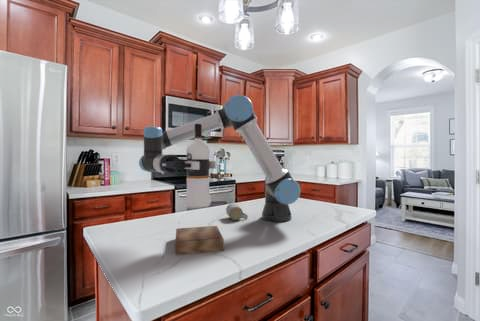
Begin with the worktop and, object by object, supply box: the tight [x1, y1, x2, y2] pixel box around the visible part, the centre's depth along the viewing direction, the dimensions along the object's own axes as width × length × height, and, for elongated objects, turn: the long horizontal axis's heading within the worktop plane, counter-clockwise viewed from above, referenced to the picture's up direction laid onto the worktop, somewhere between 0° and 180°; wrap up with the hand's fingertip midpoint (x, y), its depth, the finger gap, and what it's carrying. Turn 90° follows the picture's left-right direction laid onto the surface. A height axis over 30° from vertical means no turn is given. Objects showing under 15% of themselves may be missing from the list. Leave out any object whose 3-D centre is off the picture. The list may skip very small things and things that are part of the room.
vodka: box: [184, 124, 212, 209], centre depth 89 cm, size 9×9×30 cm
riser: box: [174, 225, 225, 256], centre depth 90 cm, size 16×16×4 cm
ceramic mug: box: [225, 202, 249, 221], centre depth 126 cm, size 11×8×8 cm
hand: (207, 165), depth 86 cm, fingers closed on vodka, 8 cm apart
